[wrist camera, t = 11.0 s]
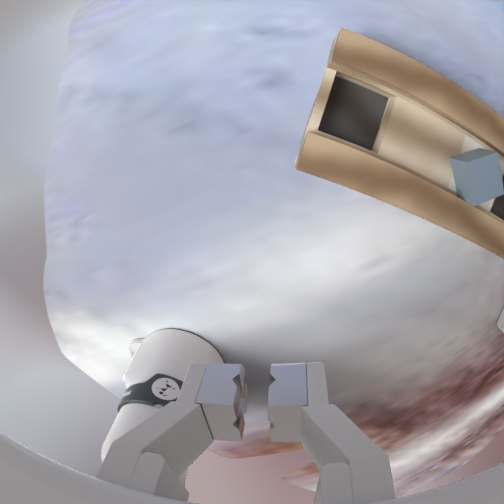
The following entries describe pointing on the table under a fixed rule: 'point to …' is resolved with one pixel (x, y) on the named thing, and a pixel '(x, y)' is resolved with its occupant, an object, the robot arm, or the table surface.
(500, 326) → the ink box
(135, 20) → the table surface
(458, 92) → the trap lane
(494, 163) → the slate block
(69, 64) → the table surface
